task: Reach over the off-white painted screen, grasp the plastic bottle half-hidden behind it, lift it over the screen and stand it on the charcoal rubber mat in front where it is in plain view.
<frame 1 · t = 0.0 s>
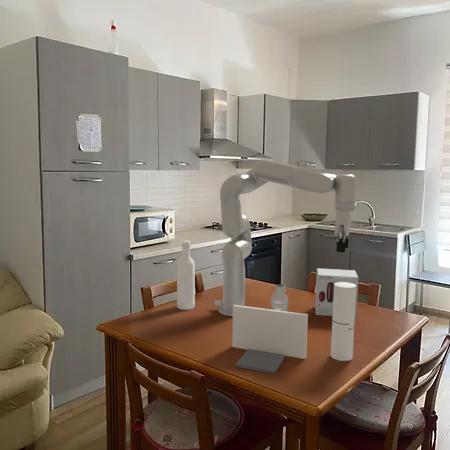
hand: (342, 249, 185), 31 cm above the table, tool pointing down, fingers open, 9 cm apart
mat: (260, 362, 155), on the table
plastic bottle: (278, 338, 176), on the table
bottle: (185, 307, 212), on the table
cylindrical container: (341, 357, 160), on the table
screen: (268, 351, 163), on the table
supplement box: (335, 312, 208), on the table
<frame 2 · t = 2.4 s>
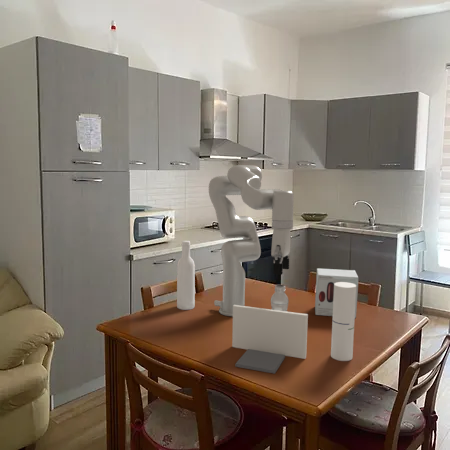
hand: (281, 271, 172), 26 cm above the table, tool pointing down, fingers open, 9 cm apart
nothing on the table moved.
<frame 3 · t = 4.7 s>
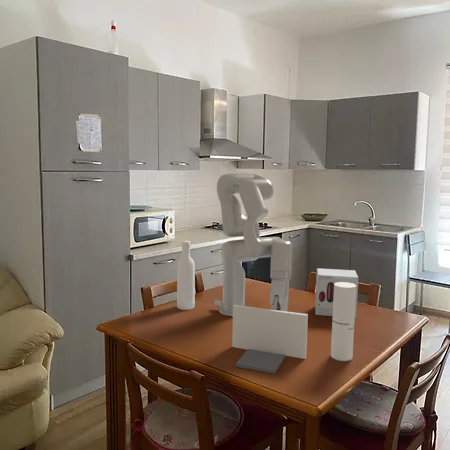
hand: (279, 321, 175), 6 cm above the table, tool pointing down, fingers closed on plastic bottle, 5 cm apart
plastic bottle: (278, 338, 176), on the table, touching gripper
everything else where it was.
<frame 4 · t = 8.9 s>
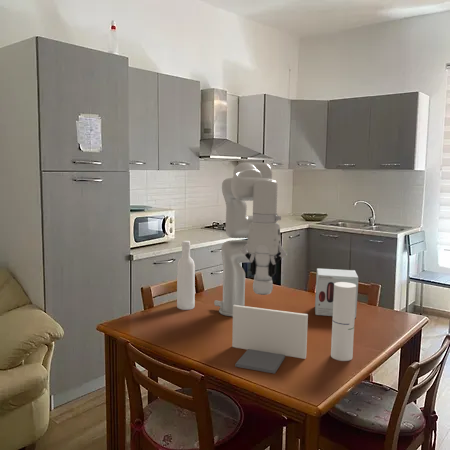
hand: (263, 274, 151), 29 cm above the table, tool pointing down, fingers closed on plastic bottle, 5 cm apart
plastic bottle: (262, 294, 152), point 23 cm above the table, touching gripper
everything else where it was.
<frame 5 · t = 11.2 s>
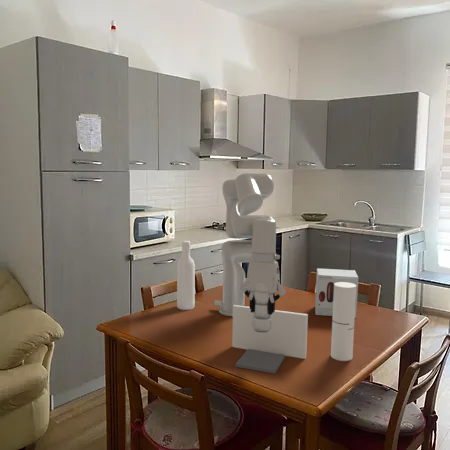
hand: (262, 311, 152), 17 cm above the table, tool pointing down, fingers closed on plastic bottle, 5 cm apart
plastic bottle: (261, 331, 153), point 10 cm above the table, touching gripper
everything else where it was.
when the fingers open (9 cm above the table, at t = 13.3 s): plastic bottle drops 1 cm, resting on mat.
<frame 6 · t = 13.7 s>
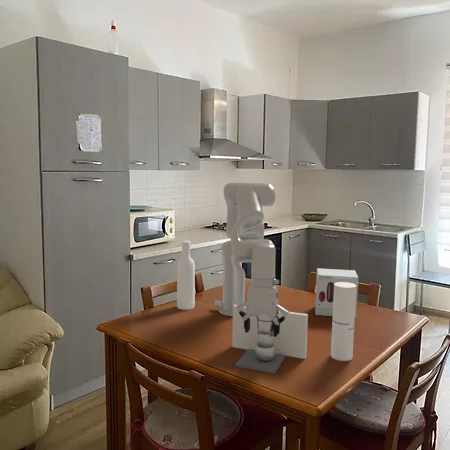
hand: (261, 333, 153), 10 cm above the table, tool pointing down, fingers open, 9 cm apart
plastic bottle: (264, 359, 155), point 1 cm above the table, touching mat
everything else where it was.
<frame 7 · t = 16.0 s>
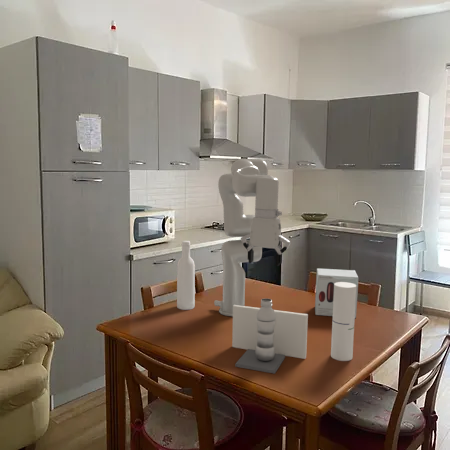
hand: (264, 263, 161), 31 cm above the table, tool pointing down, fingers open, 9 cm apart
nothing on the table moved.
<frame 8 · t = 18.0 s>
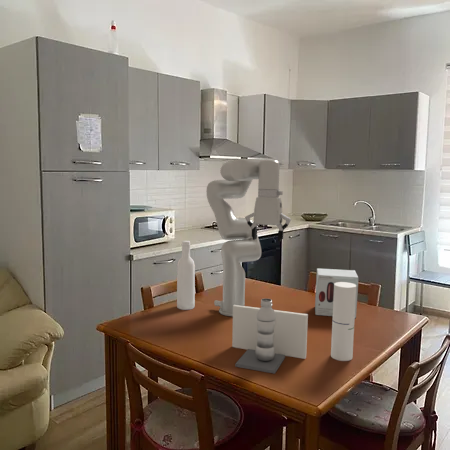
hand: (267, 240, 175), 36 cm above the table, tool pointing down, fingers open, 9 cm apart
nothing on the table moved.
at the end: plastic bottle inside the target area on the mat (1.4 cm from its centre), point 0.8 cm above the mat's base; plastic bottle tilted 0°; the gripper is holding nothing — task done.
